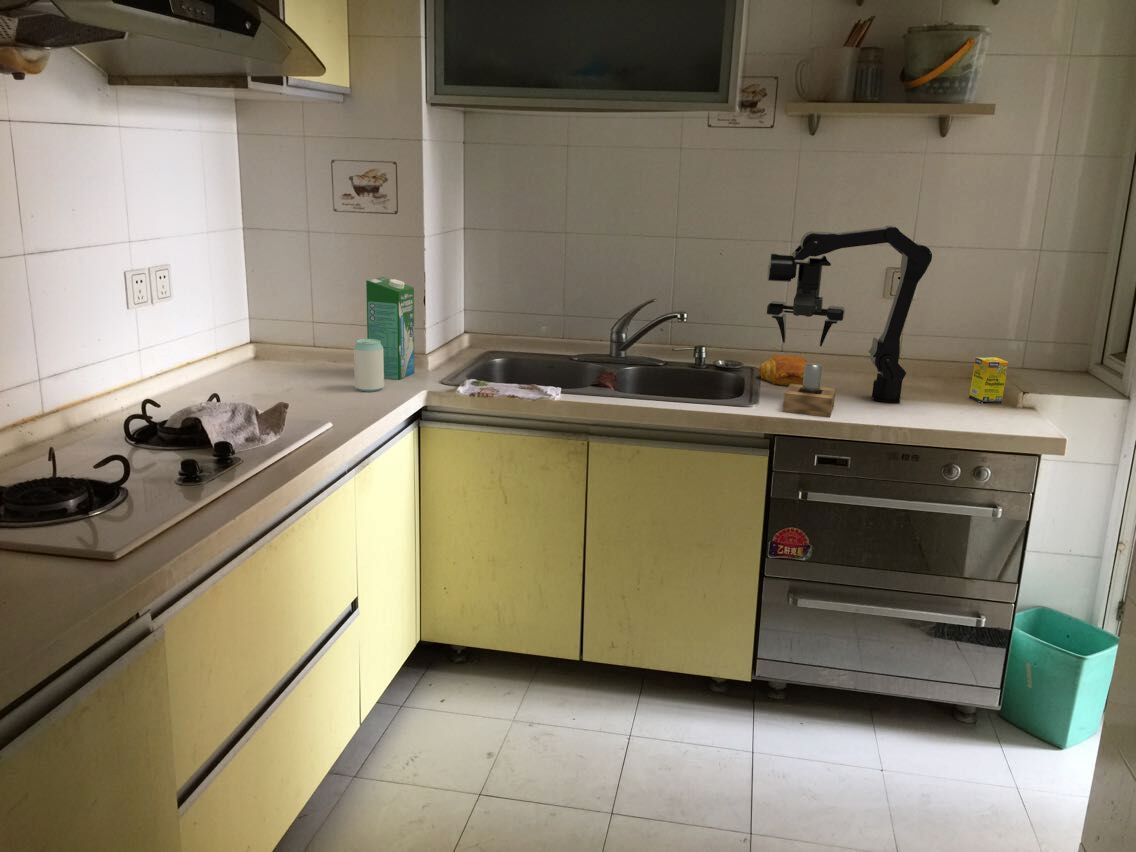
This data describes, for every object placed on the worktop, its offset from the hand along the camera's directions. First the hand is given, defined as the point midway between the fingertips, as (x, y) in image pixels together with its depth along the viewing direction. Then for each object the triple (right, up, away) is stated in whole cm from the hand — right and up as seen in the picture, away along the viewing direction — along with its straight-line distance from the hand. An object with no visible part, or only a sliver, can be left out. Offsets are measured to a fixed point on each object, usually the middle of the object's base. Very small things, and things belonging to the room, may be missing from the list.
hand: (802, 344), depth 244 cm
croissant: (0, -9, +18) cm, 20 cm away
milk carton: (-106, -7, +7) cm, 107 cm away
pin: (-1, -16, -11) cm, 19 cm away
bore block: (-1, -17, -11) cm, 20 cm away
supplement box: (+49, -14, +5) cm, 51 cm away
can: (-109, -12, -8) cm, 109 cm away
